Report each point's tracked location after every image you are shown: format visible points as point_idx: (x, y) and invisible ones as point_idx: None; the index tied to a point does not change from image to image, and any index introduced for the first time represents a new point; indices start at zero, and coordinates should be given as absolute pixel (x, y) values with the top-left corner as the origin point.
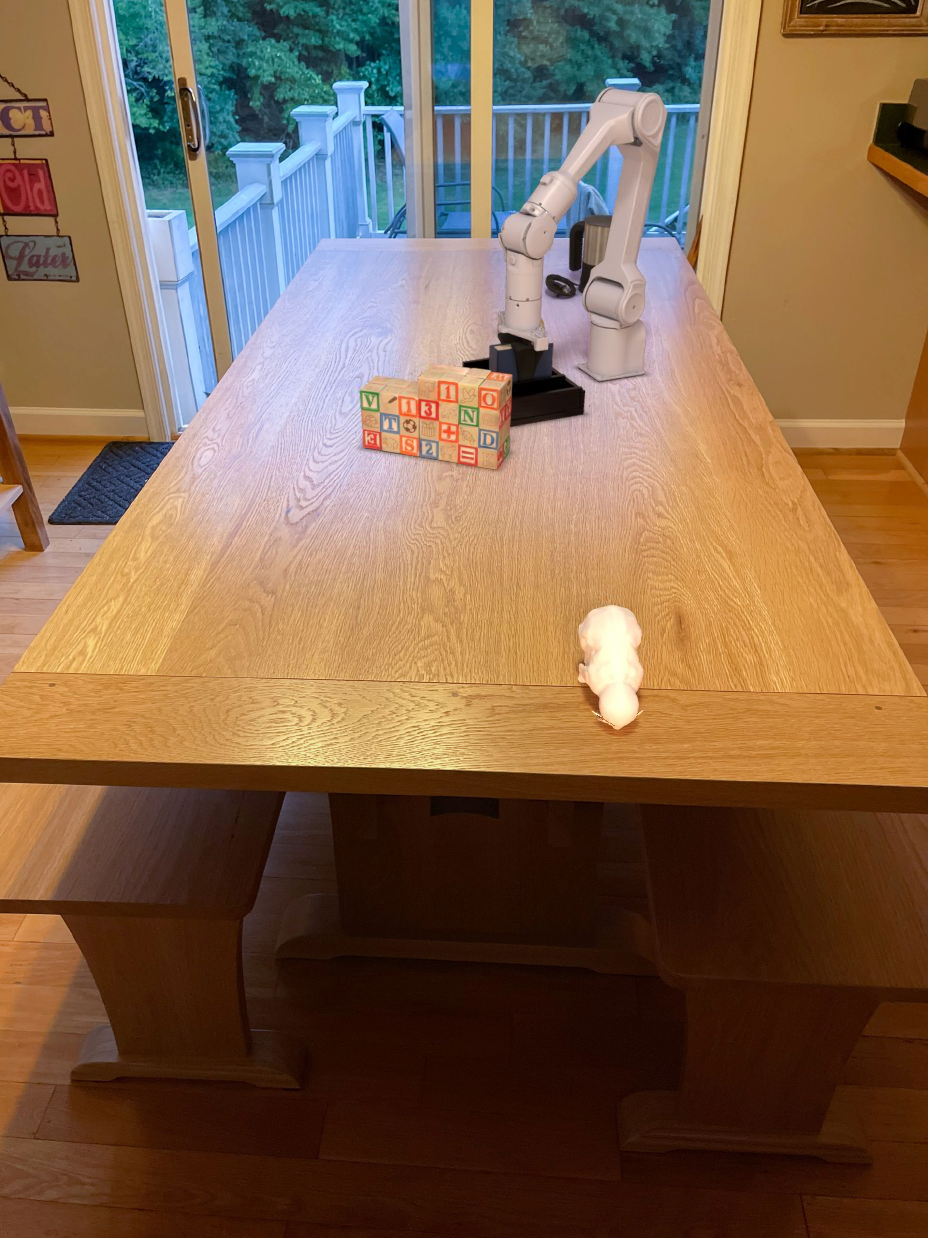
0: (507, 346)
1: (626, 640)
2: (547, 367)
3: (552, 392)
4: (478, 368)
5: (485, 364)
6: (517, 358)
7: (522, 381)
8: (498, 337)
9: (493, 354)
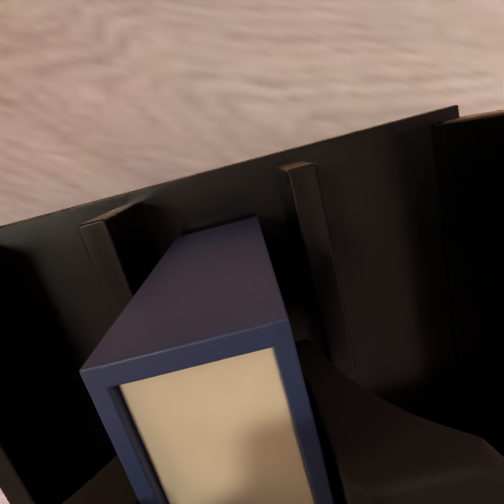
0: (255, 472)
1: None
2: None
3: (4, 490)
4: (476, 204)
5: (490, 247)
6: (114, 475)
7: None
8: (456, 445)
9: (176, 315)
